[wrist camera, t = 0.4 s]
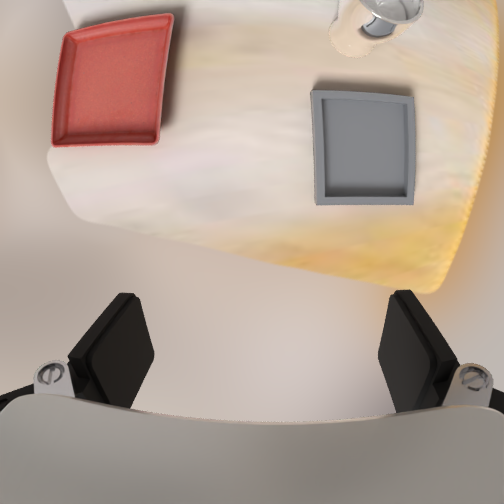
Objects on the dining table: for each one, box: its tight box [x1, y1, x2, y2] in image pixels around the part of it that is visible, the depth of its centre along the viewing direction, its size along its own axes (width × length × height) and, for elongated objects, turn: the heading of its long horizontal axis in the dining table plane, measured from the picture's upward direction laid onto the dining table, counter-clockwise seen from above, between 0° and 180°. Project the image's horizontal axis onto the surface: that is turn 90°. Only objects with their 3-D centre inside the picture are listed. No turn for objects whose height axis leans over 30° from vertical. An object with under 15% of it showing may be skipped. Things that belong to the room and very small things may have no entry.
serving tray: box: [310, 90, 415, 205], centre depth 34 cm, size 14×13×2 cm
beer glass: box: [329, 0, 424, 58], centre depth 23 cm, size 7×7×15 cm
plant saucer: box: [51, 13, 174, 148], centre depth 33 cm, size 18×18×3 cm
